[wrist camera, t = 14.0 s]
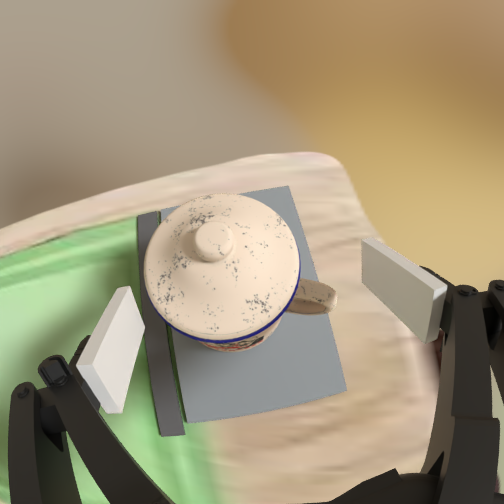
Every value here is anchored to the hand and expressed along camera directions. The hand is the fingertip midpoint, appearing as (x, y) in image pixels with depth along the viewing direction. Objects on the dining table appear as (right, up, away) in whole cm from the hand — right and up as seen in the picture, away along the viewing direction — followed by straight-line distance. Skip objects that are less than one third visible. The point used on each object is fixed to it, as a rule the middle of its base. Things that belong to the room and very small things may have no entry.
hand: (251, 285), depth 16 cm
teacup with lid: (0, -3, +9) cm, 9 cm away
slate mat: (-1, -2, +9) cm, 9 cm away
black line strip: (-8, -4, +9) cm, 13 cm away
